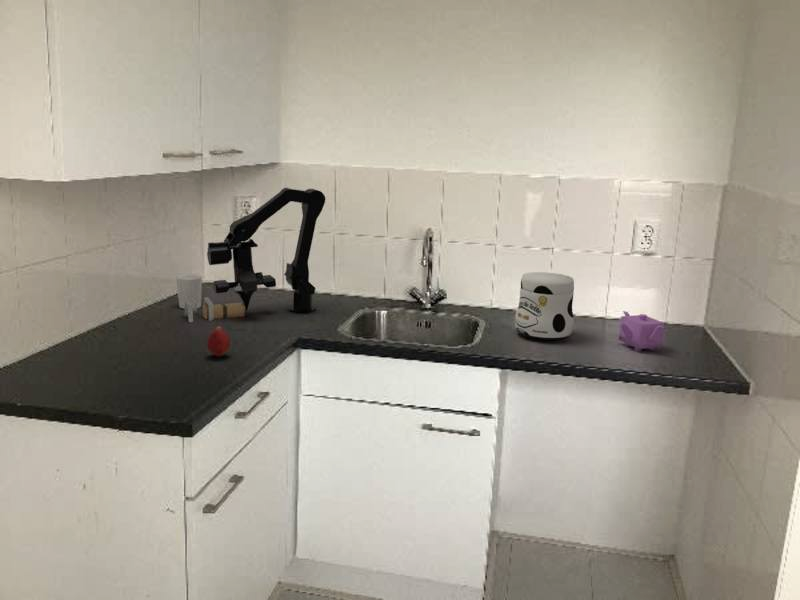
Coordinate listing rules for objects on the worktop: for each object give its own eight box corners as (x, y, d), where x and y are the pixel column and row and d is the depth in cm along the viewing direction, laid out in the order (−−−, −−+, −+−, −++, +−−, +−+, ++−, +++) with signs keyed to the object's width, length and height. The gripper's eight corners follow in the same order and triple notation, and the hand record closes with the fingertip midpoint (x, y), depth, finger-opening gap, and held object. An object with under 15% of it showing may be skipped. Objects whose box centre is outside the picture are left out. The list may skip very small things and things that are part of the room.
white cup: (198, 310, 230) (197, 279, 227) (174, 309, 230) (173, 278, 227) (205, 304, 237) (204, 274, 235) (181, 303, 237) (180, 273, 235)
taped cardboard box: (241, 313, 228) (241, 302, 227) (244, 316, 225) (244, 305, 224) (203, 316, 223) (202, 305, 222) (205, 319, 219) (205, 308, 219)
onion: (218, 361, 181) (218, 331, 179) (202, 357, 184) (201, 327, 182) (235, 356, 186) (234, 326, 184) (219, 351, 189) (218, 322, 187)
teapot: (599, 340, 213) (603, 308, 211) (636, 337, 218) (640, 306, 215) (638, 358, 197) (642, 324, 195) (677, 355, 201) (681, 321, 199)
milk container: (506, 338, 212) (510, 278, 207) (522, 325, 227) (527, 269, 223) (565, 347, 204) (570, 286, 200) (577, 333, 220) (583, 275, 216)
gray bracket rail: (206, 311, 228) (206, 295, 227) (213, 320, 218) (212, 303, 217) (183, 313, 225) (182, 296, 224) (189, 322, 215) (188, 304, 214)
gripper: (217, 270, 212) (221, 320, 216) (279, 263, 219) (282, 312, 223) (210, 263, 221) (214, 311, 225) (269, 257, 229) (272, 304, 233)
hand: (246, 310), depth 226 cm, fingers closed
